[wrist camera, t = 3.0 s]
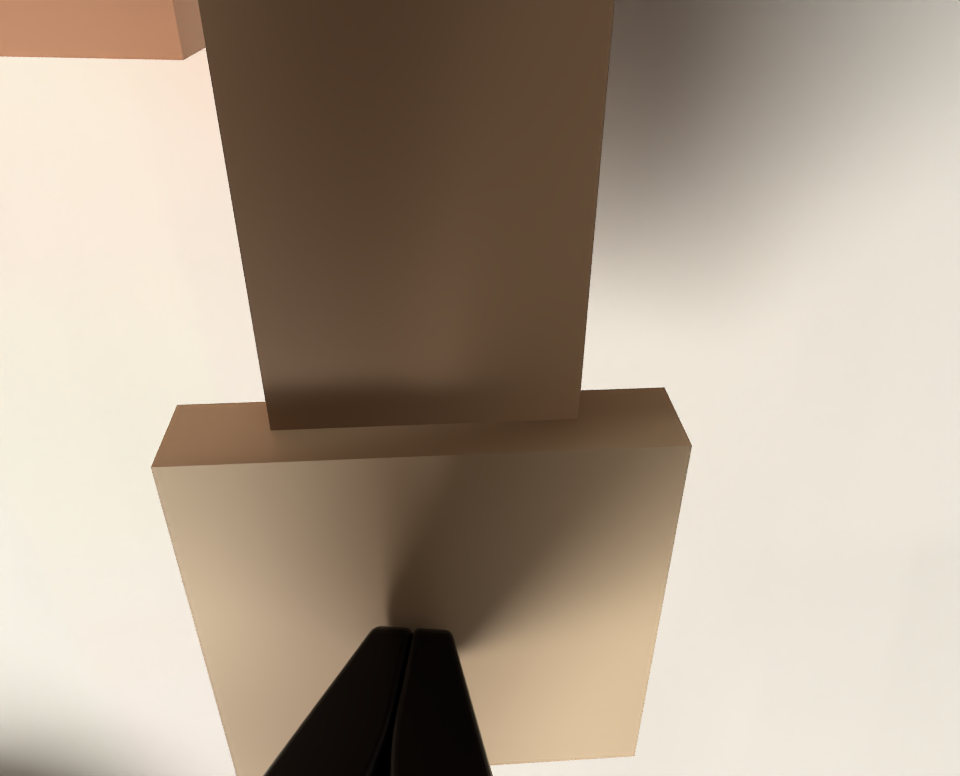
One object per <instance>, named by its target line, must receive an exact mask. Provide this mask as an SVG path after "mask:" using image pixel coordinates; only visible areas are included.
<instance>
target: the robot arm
mask: <svg viewBox="0 0 960 776" xmlns="http://www.w3.org/2000/svg"><path fill="white" fill-rule="evenodd" d="M263 776H493V775H492V772H491V768H490V765H489V761H488V758H487V754H486V751H485V747H484V743H483V740H482V736H481V733H480V729H479V726H478V722H477V719H476V715H475V712H474V708H473V705H472V701H471V697H470V694H469V690H468V687H467V683H466V680H465V676H464V673H463V669H462V666H461V662H460V658H459V655H458V651H457V648H456V644H455V641H454V637H453V635H452V633H451V632H450V631H448V630H443V629H426V628H419V629H417V630H415V631H414V633H412V631H411V630H410V629H409V628H406V627H391V626H377V627H375V628H373V629H372V630H371V631H370V633H369V634H368V635H367V636H366V638H365V639H364V640H363V642H362V643H361V644H360V646H359V647H358V648H357V650H356V651H355V652H354V654H353V655H352V656H351V658H350V659H349V661H348V662H347V663H346V665H345V666H344V667H343V669H342V670H341V671H340V673H339V674H338V675H337V677H336V678H335V679H334V681H333V682H332V683H331V685H330V686H329V687H328V689H327V690H326V691H325V693H324V694H323V695H322V697H321V698H320V699H319V701H318V702H317V703H316V705H315V706H314V707H313V709H312V710H311V712H310V713H309V714H308V716H307V717H306V718H305V720H304V721H303V722H302V724H301V725H300V726H299V728H298V729H297V730H296V732H295V733H294V734H293V736H292V737H291V738H290V740H289V741H288V742H287V744H286V745H285V746H284V748H283V749H282V750H281V752H280V753H279V754H278V756H277V757H276V759H275V760H274V761H273V763H272V764H271V765H270V767H269V768H268V769H267V771H266V772H265V773H264V775H263Z"/></svg>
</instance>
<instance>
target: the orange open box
mask: <svg viewBox="0 0 960 776" xmlns="http://www.w3.org/2000/svg"><path fill="white" fill-rule="evenodd" d="M205 47H206V46H205V40H204V34H203V28H202V22H201V16H200V11H199V5H198V0H0V56H11V57H61V58H111V59H161V60H184V59H186V58H188V57H189V56H191V55H193V54H195V53H196V52H198V51H200V50H202V49H203V48H205Z"/></svg>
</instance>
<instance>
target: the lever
mask: <svg viewBox="0 0 960 776" xmlns="http://www.w3.org/2000/svg"><path fill="white" fill-rule="evenodd" d="M198 5H199V11H200V16H201V22H202V28H203V34H204V40H205V46H206V52H207V58H208V64H209V70H210V76H211V81H212V87H213V93H214V99H215V105H216V111H217V117H218V123H219V129H220V135H221V141H222V146H223V152H224V158H225V164H226V170H227V176H228V182H229V188H230V194H231V200H232V206H233V211H234V217H235V223H236V229H237V235H238V241H239V247H240V253H241V259H242V265H243V271H244V276H245V282H246V288H247V294H248V300H249V306H250V312H251V318H252V324H253V330H254V336H255V341H256V347H257V353H258V359H259V365H260V371H261V377H262V383H263V389H264V395H265V401H266V402H248V403H220V404H192V405H177V407H176V409H175V412H174V414H173V416H172V419H171V421H170V423H169V426H168V428H167V431H166V433H165V435H164V438H163V440H162V442H161V445H160V447H159V450H158V452H157V454H156V457H155V459H154V461H153V464H152V466H151V469H152V473H153V476H154V480H155V484H156V487H157V491H158V494H159V498H160V502H161V505H162V509H163V512H164V516H165V520H166V523H167V527H168V530H169V534H170V538H171V541H172V545H173V548H174V552H175V556H176V559H177V563H178V566H179V570H180V574H181V577H182V581H183V584H184V588H185V592H186V595H187V599H188V602H189V606H190V610H191V613H192V617H193V620H194V624H195V628H196V631H197V635H198V638H199V642H200V646H201V649H202V653H203V656H204V660H205V664H206V667H207V671H208V674H209V678H210V682H211V685H212V689H213V692H214V696H215V700H216V703H217V707H218V710H219V714H220V718H221V721H222V725H223V728H224V732H225V736H226V739H227V743H228V746H229V750H230V754H231V757H232V761H233V764H234V768H235V772H236V775H237V776H263V775H264V773H265V772H266V771H267V769H268V768H269V767H270V765H271V764H272V763H273V761H274V760H275V759H276V757H277V756H278V754H279V753H280V752H281V750H282V749H283V748H284V746H285V745H286V744H287V742H288V741H289V740H290V738H291V737H292V736H293V734H294V733H295V732H296V730H297V729H298V728H299V726H300V725H301V724H302V722H303V721H304V720H305V718H306V717H307V716H308V714H309V713H310V712H311V710H312V709H313V707H314V706H315V705H316V703H317V702H318V701H319V699H320V698H321V697H322V695H323V694H324V693H325V691H326V690H327V689H328V687H329V686H330V685H331V683H332V682H333V681H334V679H335V678H336V677H337V675H338V674H339V673H340V671H341V670H342V669H343V667H344V666H345V665H346V663H347V662H348V661H349V659H350V658H351V656H352V655H353V654H354V652H355V651H356V650H357V648H358V647H359V646H360V644H361V643H362V642H363V640H364V639H365V638H366V636H367V635H368V634H369V633H370V631H371V630H372V629H373V628H375V627H377V626H391V627H406V628H409V629H410V630H411V631H412V633H414V631H415V630H417V629H419V628H426V629H443V630H448V631H450V632H451V633H452V635H453V637H454V641H455V644H456V648H457V651H458V655H459V658H460V662H461V666H462V669H463V673H464V676H465V680H466V683H467V687H468V690H469V694H470V697H471V701H472V705H473V708H474V712H475V715H476V719H477V722H478V726H479V729H480V733H481V736H482V740H483V743H484V747H485V751H486V754H487V758H488V761H489V765H503V764H518V763H534V762H549V761H565V760H580V759H596V758H611V757H627V756H634V755H635V749H636V744H637V739H638V733H639V728H640V722H641V717H642V712H643V706H644V701H645V695H646V690H647V685H648V679H649V674H650V668H651V663H652V658H653V652H654V647H655V642H656V636H657V631H658V625H659V620H660V615H661V609H662V604H663V598H664V593H665V588H666V582H667V577H668V571H669V566H670V561H671V555H672V550H673V544H674V539H675V534H676V528H677V523H678V517H679V512H680V507H681V501H682V496H683V490H684V485H685V480H686V474H687V469H688V463H689V458H690V453H691V447H692V445H691V443H690V441H689V438H688V436H687V434H686V432H685V430H684V428H683V426H682V424H681V422H680V420H679V417H678V415H677V413H676V411H675V409H674V407H673V405H672V403H671V401H670V398H669V396H668V394H667V392H666V390H665V388H637V389H609V390H582V391H581V379H582V368H583V356H584V345H585V333H586V322H587V310H588V299H589V287H590V276H591V264H592V253H593V241H594V230H595V218H596V207H597V195H598V184H599V172H600V161H601V149H602V138H603V126H604V115H605V103H606V92H607V80H608V69H609V57H610V46H611V34H612V23H613V11H614V0H198Z"/></svg>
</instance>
